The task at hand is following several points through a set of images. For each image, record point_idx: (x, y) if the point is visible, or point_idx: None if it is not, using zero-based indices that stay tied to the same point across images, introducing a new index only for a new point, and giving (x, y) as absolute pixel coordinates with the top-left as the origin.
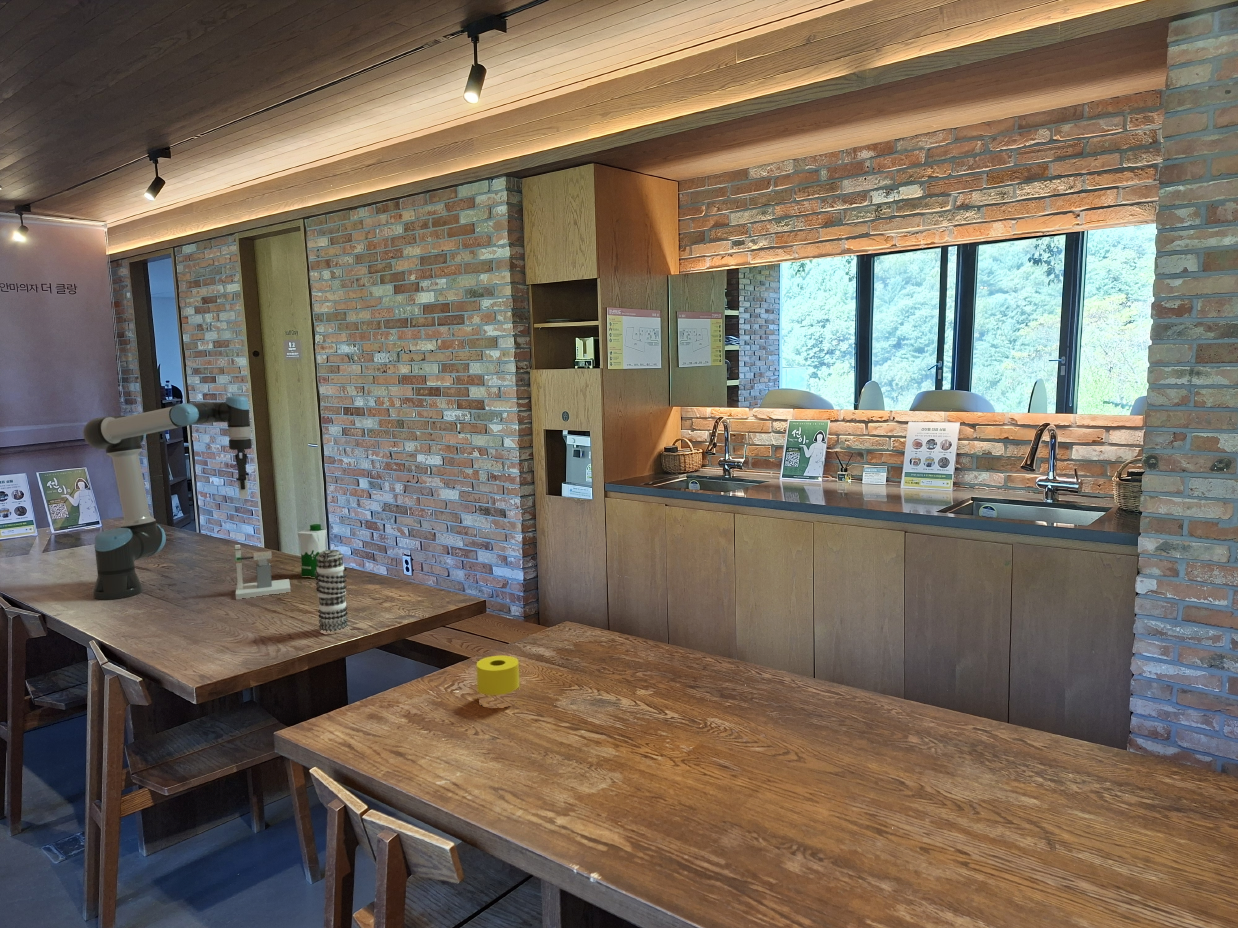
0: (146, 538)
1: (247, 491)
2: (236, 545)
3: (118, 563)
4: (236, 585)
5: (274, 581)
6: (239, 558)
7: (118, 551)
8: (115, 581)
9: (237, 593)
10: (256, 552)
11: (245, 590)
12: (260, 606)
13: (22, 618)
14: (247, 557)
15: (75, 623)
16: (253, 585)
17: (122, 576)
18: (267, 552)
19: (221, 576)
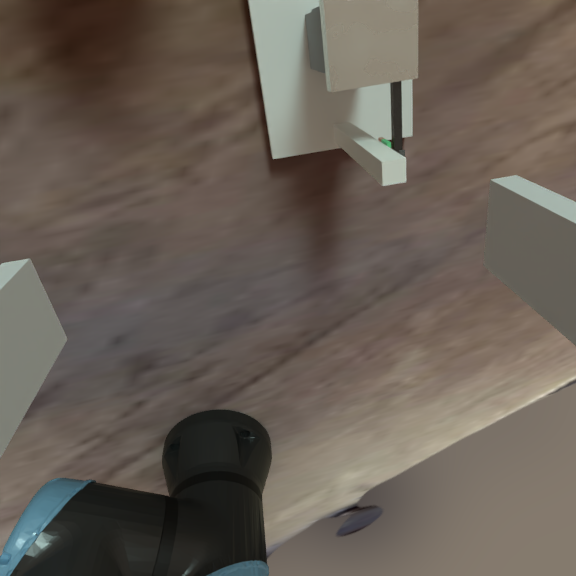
0: (135, 542)
1: (24, 273)
2: (389, 178)
3: (258, 513)
4: (283, 157)
5: (266, 2)
6: (401, 148)
7: (259, 548)
8: (263, 474)
9: (405, 130)
10: (330, 76)
11: (374, 108)
12: (539, 24)
13: (363, 526)
14: (400, 110)
15: (450, 440)
16: (307, 89)
17: (253, 473)
18: (354, 6)
19: (47, 250)
